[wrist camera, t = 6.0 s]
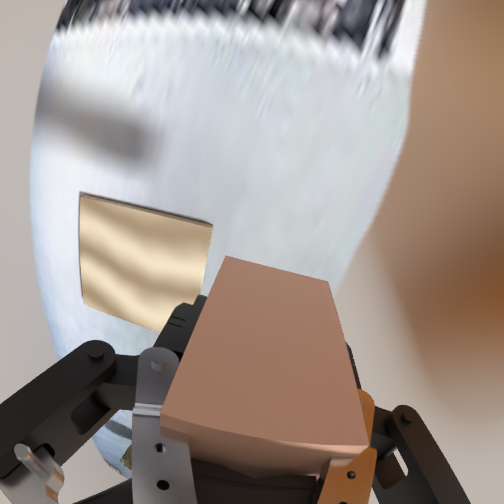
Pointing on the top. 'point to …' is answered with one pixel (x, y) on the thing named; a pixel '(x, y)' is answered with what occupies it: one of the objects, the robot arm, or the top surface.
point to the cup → (128, 457)
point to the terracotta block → (267, 376)
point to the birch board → (139, 260)
